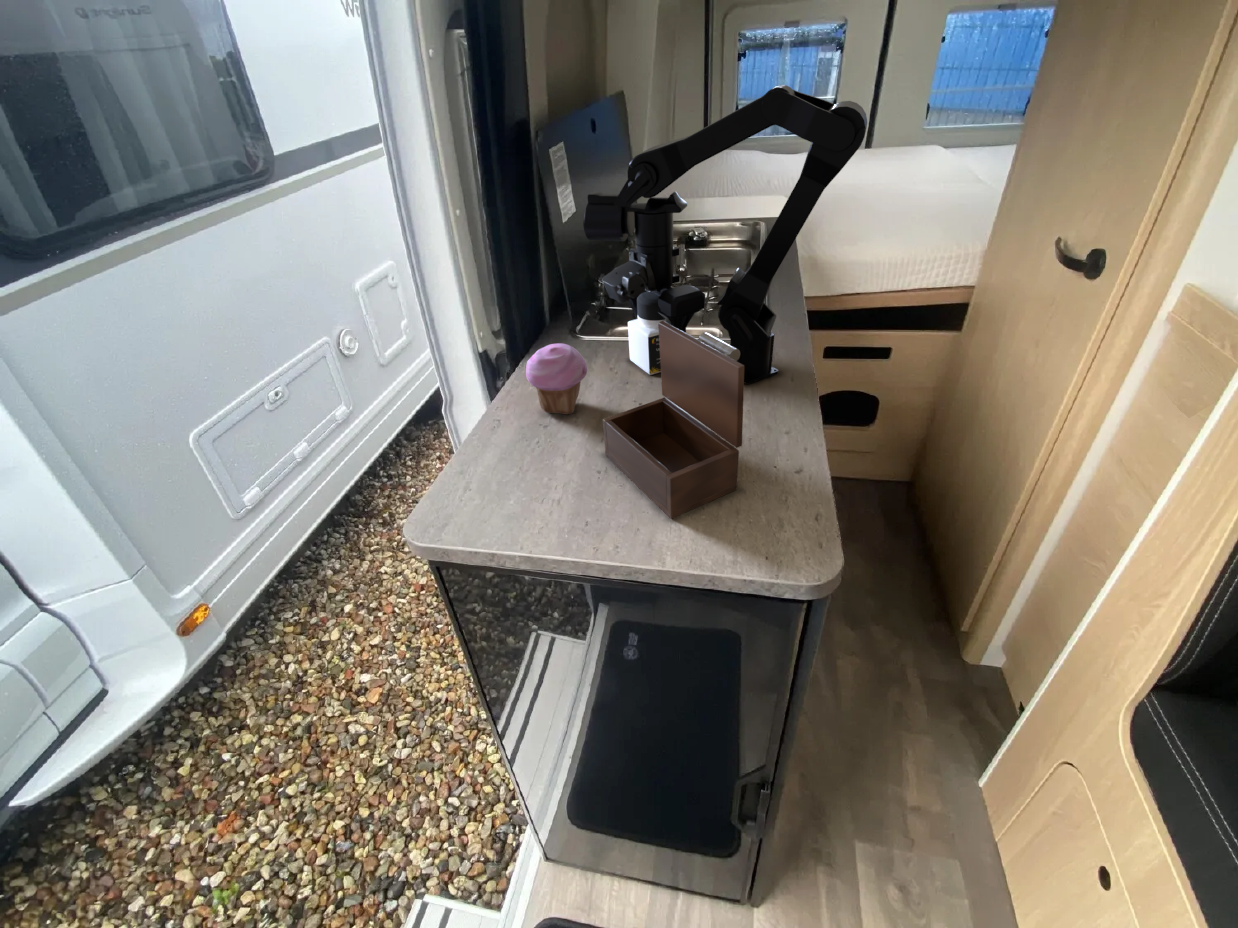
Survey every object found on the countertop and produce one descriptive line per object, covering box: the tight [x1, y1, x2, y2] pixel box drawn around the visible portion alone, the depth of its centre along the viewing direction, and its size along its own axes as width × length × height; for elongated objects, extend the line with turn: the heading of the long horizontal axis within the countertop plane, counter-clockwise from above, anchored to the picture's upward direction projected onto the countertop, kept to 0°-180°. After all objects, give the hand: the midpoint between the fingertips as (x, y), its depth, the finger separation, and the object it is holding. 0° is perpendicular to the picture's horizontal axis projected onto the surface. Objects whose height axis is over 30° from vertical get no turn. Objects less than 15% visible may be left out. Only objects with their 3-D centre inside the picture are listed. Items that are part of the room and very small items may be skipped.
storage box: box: [602, 396, 740, 519], centre depth 76 cm, size 10×16×6 cm, turn 30°
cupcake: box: [525, 342, 588, 415], centre depth 90 cm, size 9×9×10 cm
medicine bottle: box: [627, 291, 687, 376], centre depth 100 cm, size 7×7×12 cm
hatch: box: [658, 321, 745, 449], centre depth 73 cm, size 10×16×4 cm
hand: (657, 338), depth 101 cm, fingers open, 9 cm apart
